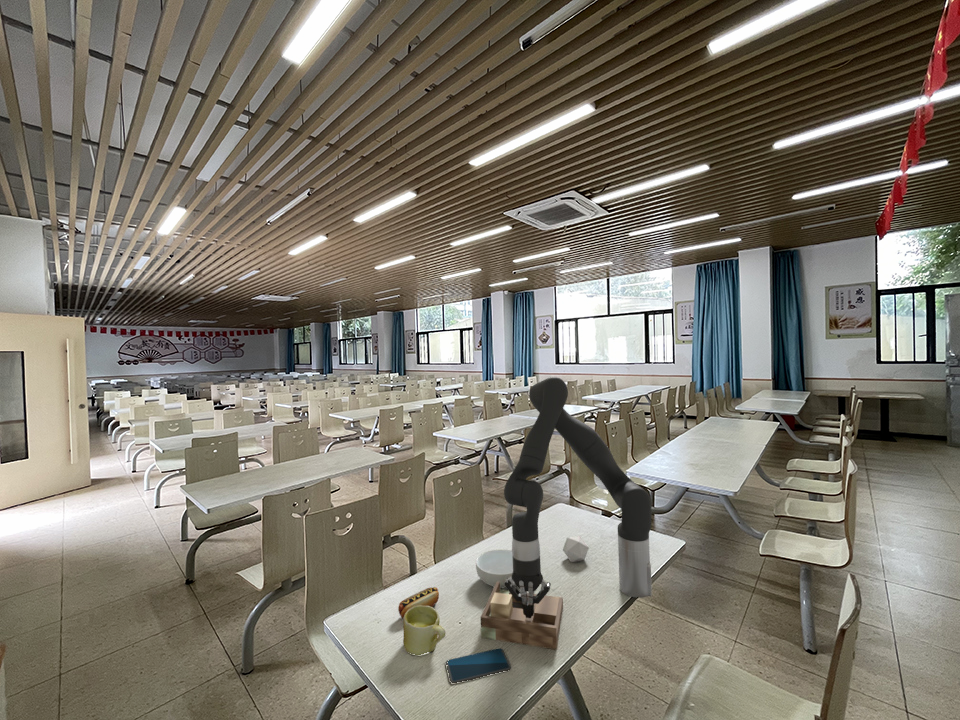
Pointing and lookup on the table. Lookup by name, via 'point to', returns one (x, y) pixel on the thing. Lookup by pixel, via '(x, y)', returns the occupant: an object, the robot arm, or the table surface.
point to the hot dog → (419, 600)
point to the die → (575, 548)
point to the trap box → (525, 622)
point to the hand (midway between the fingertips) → (528, 616)
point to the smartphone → (477, 665)
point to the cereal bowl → (495, 566)
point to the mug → (421, 630)
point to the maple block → (501, 605)
